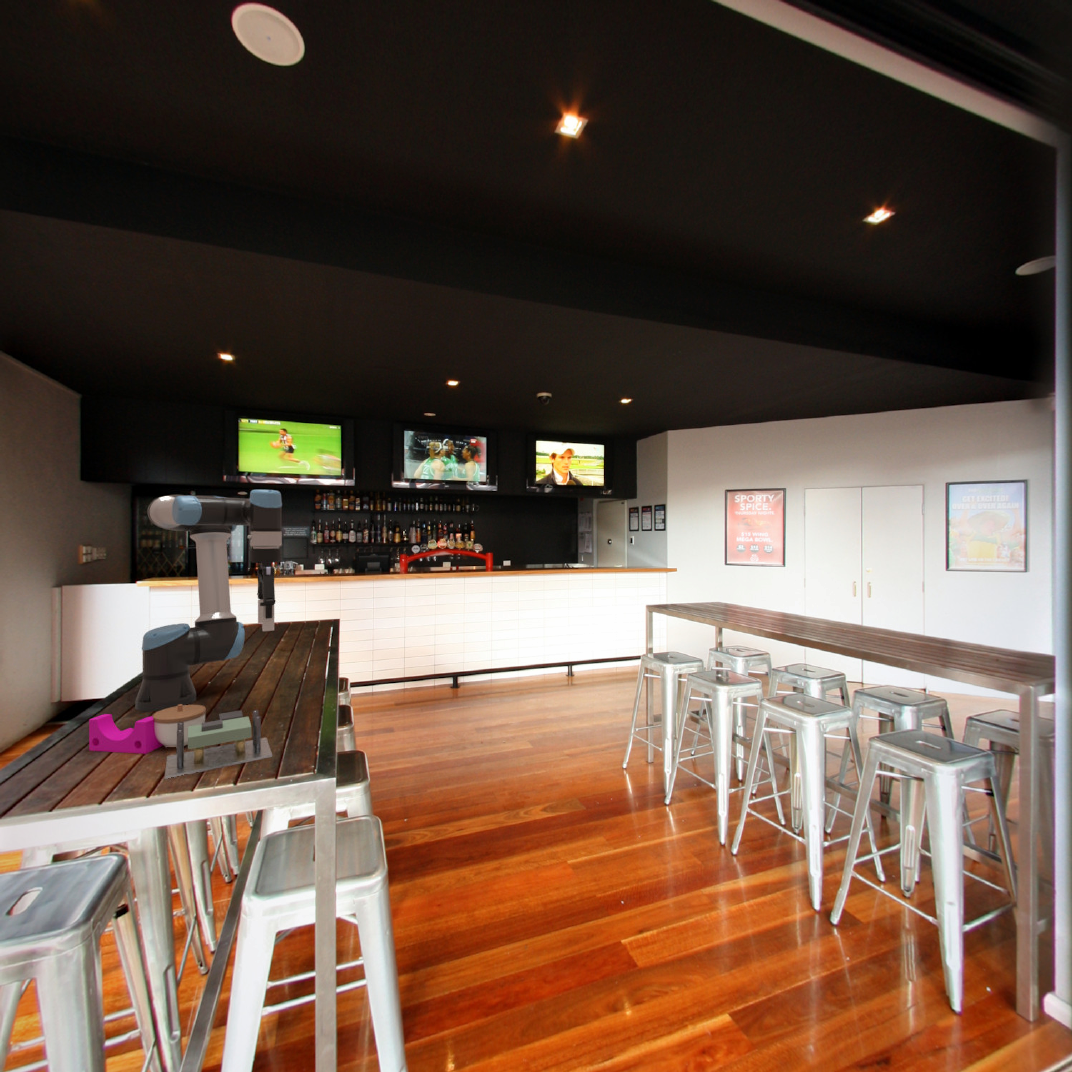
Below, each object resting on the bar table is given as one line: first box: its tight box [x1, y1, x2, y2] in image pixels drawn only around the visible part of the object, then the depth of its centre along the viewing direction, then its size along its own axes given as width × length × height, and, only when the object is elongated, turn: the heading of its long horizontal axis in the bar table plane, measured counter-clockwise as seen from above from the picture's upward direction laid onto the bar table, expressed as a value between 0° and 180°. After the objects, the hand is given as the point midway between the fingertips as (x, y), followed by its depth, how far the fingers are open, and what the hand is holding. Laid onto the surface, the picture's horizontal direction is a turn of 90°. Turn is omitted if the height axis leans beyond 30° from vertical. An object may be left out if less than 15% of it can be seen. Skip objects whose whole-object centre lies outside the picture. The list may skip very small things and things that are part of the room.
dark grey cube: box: [218, 710, 244, 721], centre depth 134 cm, size 5×5×5 cm
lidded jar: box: [152, 704, 207, 748], centre depth 128 cm, size 11×11×9 cm
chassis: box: [164, 709, 273, 780], centre depth 119 cm, size 12×20×9 cm, turn 123°
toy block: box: [88, 713, 164, 755], centre depth 126 cm, size 15×6×8 cm, turn 82°
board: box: [187, 716, 253, 750], centre depth 119 cm, size 8×12×4 cm, turn 123°
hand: (265, 626), depth 141 cm, fingers open, 13 cm apart
